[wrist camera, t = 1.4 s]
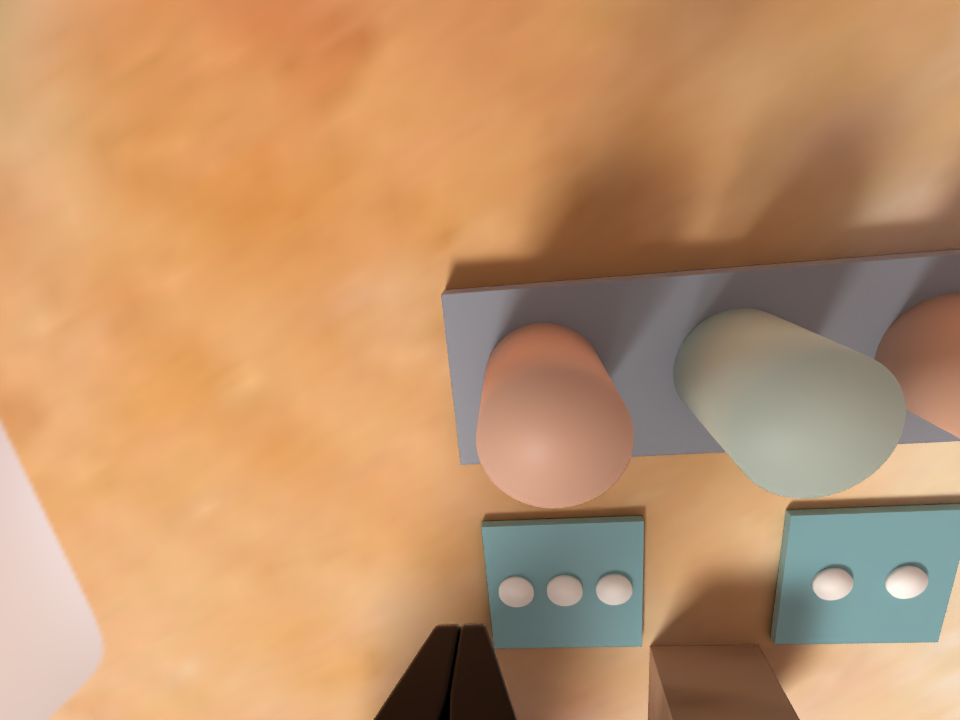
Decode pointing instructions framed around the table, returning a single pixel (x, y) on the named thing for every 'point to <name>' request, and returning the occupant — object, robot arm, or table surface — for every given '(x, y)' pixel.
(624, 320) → the board
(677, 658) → the brown cube
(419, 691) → the robot arm
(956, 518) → the pad two
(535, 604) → the pad three
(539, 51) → the table surface
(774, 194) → the table surface
